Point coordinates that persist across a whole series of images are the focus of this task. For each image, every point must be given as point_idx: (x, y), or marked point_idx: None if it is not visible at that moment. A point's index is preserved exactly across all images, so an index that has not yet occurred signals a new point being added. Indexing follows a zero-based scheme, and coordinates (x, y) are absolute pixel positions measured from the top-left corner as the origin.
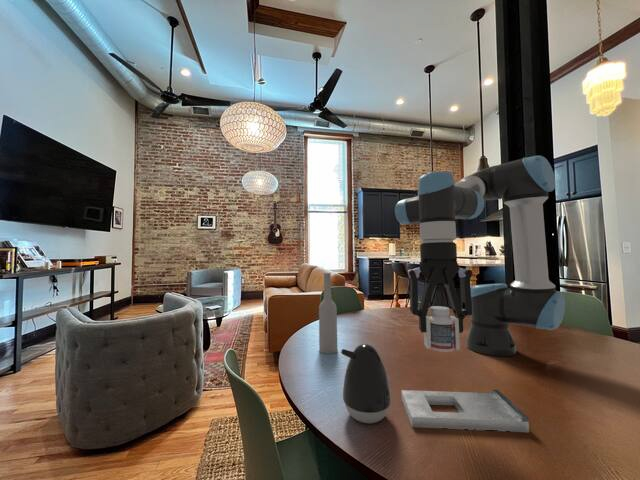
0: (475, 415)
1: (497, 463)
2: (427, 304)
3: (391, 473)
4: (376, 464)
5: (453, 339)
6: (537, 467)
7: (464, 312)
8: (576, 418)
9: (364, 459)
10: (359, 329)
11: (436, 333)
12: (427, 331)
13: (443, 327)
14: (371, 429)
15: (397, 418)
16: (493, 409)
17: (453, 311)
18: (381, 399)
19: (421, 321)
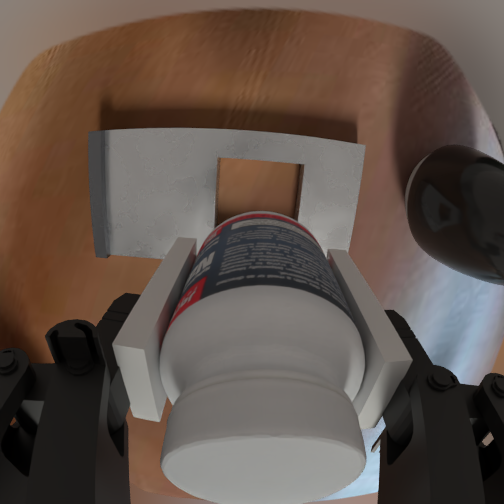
0: (198, 146)
1: (224, 31)
2: (444, 475)
3: (423, 34)
4: (441, 57)
5: (202, 254)
6: (155, 30)
7: (41, 387)
8: (14, 192)
9: (456, 72)
10: None
11: (325, 269)
12: (374, 297)
13: (282, 275)
14: (436, 147)
15: (378, 179)
16: (140, 177)
17: (125, 441)
18: (453, 152)
19: (421, 357)
